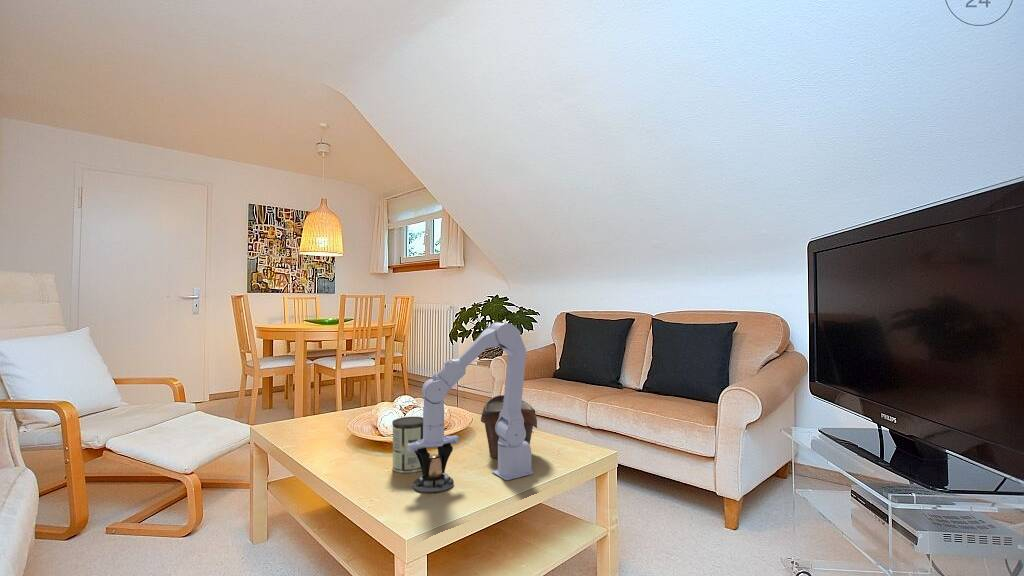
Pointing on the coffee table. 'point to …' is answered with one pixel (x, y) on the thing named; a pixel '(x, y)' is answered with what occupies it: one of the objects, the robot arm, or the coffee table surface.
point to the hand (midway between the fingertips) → (433, 474)
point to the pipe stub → (434, 467)
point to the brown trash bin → (492, 416)
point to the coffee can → (404, 434)
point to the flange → (433, 484)
